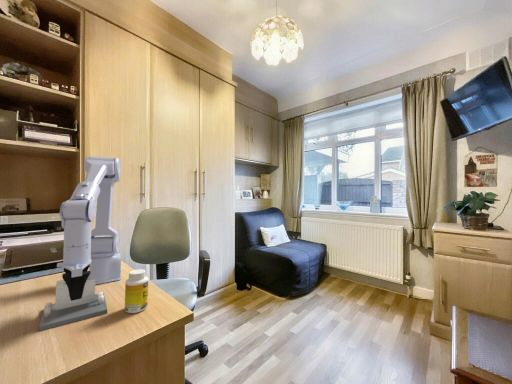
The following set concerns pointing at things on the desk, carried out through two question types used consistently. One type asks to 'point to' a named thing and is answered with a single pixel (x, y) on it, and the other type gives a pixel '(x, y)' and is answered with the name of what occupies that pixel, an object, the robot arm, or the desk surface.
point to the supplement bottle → (136, 291)
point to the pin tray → (72, 312)
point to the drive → (64, 299)
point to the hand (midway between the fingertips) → (76, 295)
